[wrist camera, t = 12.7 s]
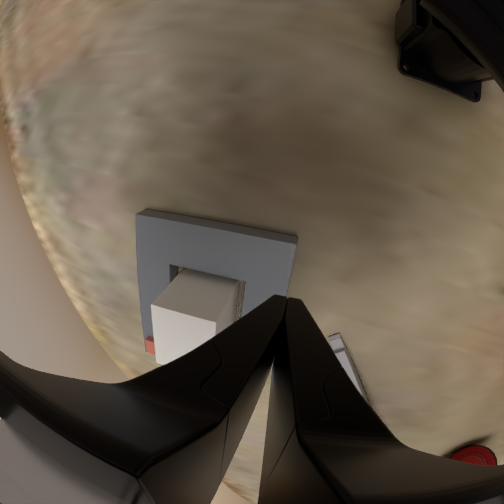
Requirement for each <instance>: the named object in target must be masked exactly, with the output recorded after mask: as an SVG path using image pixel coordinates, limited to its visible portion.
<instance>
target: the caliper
mask: <svg viewBox="0 0 504 504" xmlns="http://www.w3.org/2000/svg"><path fill="white" fill-rule="evenodd" d="M328 338H329V342H330V344H331V346H332V348H333V351H334V353H335V355H336V356H337V358H338V360H339V361H340V363H341V365H342V367H343V368H344V369H345V371H346V372H347V374H348V376H349V377H350V379H351V380H352V382H353V383H354V385H355V386H356V388H357V389H358V391H359V392H360V393H361V395H362V396H363V397H364V399H365V400H366V401H367V403H368V400H367V397H366V395H365V392H364V389H363V387H362V384H361V382H360V379H359V376H358V374H357V371H356V369H355V366H354V364H353V361H352V359H351V356H350V354H349V352H348V350H347V348H346V346H345V344H344V342H343V340H342V338H341V335H340V333H337V334H335V335H332V336H329V337H328ZM368 404H369V403H368Z"/></svg>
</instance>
